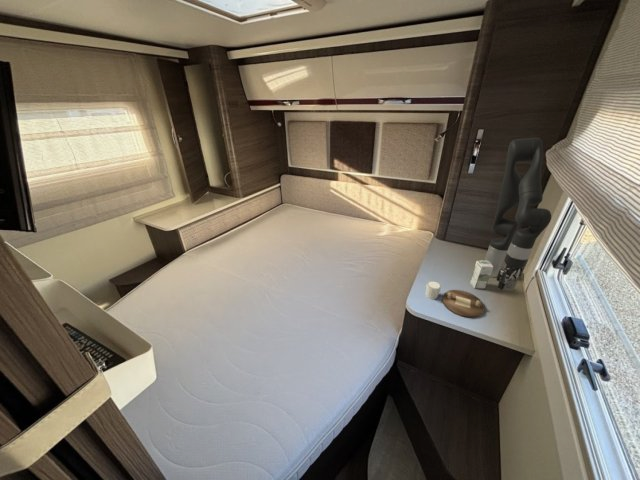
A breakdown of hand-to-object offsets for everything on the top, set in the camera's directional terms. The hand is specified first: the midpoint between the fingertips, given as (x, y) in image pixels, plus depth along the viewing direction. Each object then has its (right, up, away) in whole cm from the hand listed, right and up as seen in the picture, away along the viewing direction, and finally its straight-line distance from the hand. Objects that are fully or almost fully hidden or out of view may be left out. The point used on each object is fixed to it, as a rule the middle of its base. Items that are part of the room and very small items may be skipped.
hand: (505, 286), depth 116 cm
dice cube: (0, -1, +1) cm, 1 cm away
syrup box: (+2, -4, +25) cm, 25 cm away
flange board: (-12, -11, +13) cm, 21 cm away
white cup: (-25, -8, +19) cm, 32 cm away
